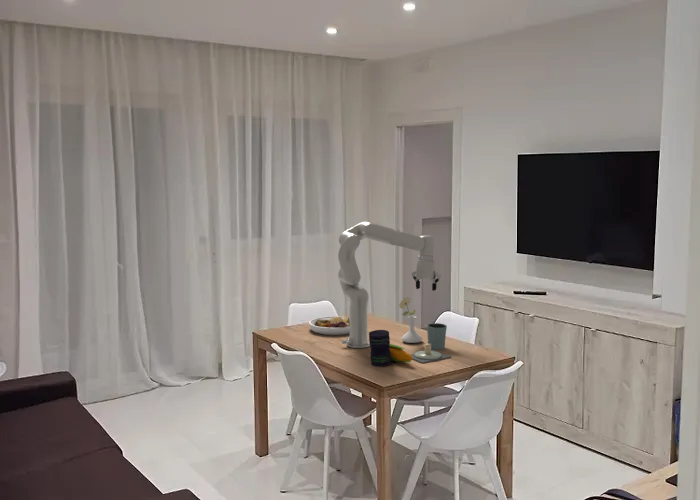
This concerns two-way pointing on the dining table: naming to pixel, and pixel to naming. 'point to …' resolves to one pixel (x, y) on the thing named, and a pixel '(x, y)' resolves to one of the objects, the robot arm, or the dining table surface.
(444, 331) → the teal cup
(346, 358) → the dining table surface
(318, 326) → the bowl
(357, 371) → the dining table surface
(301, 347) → the dining table surface
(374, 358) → the storage jar
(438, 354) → the lid
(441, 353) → the mat
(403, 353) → the corn
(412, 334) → the flower in vase
